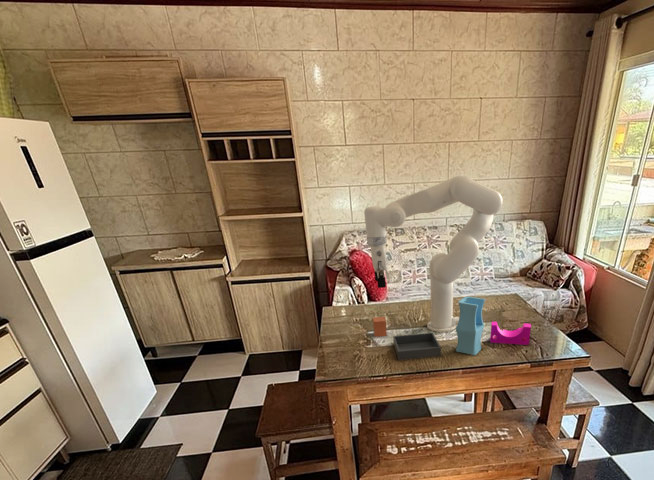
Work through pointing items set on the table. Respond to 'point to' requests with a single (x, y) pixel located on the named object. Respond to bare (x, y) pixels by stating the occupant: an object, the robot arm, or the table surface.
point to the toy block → (510, 335)
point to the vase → (470, 325)
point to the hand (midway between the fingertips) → (380, 283)
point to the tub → (416, 346)
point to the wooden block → (379, 326)
